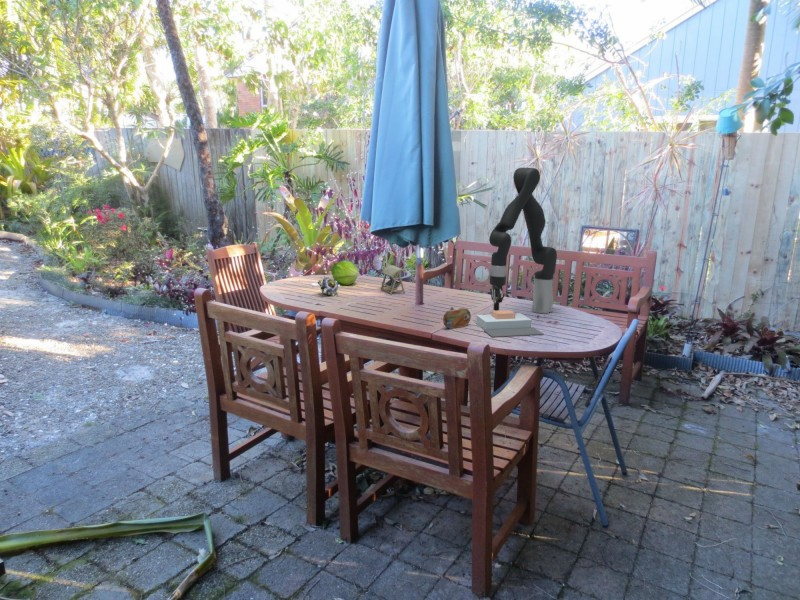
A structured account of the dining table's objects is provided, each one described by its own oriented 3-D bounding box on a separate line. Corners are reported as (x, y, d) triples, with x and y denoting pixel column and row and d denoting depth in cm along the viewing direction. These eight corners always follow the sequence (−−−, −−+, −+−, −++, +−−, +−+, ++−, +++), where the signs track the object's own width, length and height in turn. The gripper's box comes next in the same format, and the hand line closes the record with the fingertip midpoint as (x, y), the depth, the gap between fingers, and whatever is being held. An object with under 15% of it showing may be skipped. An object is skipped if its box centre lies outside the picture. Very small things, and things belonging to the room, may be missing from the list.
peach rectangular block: (509, 315, 252) (510, 309, 252) (515, 318, 247) (515, 313, 246) (491, 315, 251) (491, 310, 250) (496, 319, 245) (496, 314, 244)
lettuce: (368, 283, 334) (349, 290, 324) (344, 277, 350) (325, 284, 339) (365, 260, 330) (346, 266, 319) (341, 256, 345) (322, 262, 335)
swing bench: (380, 289, 321) (380, 265, 318) (394, 288, 325) (394, 264, 322) (390, 295, 308) (391, 269, 305) (405, 293, 312) (406, 268, 309)
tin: (446, 330, 241) (446, 312, 239) (441, 328, 243) (442, 310, 241) (470, 325, 250) (471, 307, 248) (466, 323, 252) (466, 306, 250)
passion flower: (332, 306, 305) (326, 290, 295) (316, 299, 311) (309, 283, 301) (346, 291, 311) (340, 275, 301) (329, 284, 317) (323, 268, 307)
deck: (519, 321, 257) (520, 313, 256) (530, 328, 246) (531, 319, 245) (476, 323, 253) (476, 315, 252) (485, 330, 241) (485, 322, 240)
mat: (533, 328, 245) (533, 327, 245) (543, 334, 236) (543, 333, 236) (483, 331, 240) (483, 329, 240) (492, 337, 231) (492, 336, 231)
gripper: (511, 277, 247) (509, 313, 251) (500, 271, 260) (498, 306, 264) (495, 277, 246) (493, 314, 250) (485, 272, 258) (483, 307, 262)
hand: (496, 310), depth 257 cm, fingers closed
